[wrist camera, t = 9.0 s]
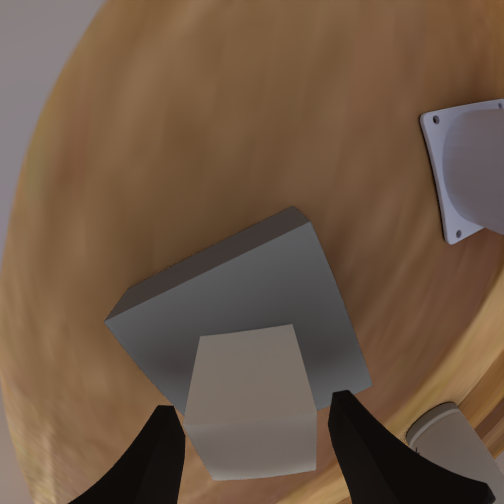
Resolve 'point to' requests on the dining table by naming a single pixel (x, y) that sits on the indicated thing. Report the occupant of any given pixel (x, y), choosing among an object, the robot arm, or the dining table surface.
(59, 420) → the dining table surface
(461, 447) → the travel mug
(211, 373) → the top block
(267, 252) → the base block
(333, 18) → the dining table surface
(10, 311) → the dining table surface
